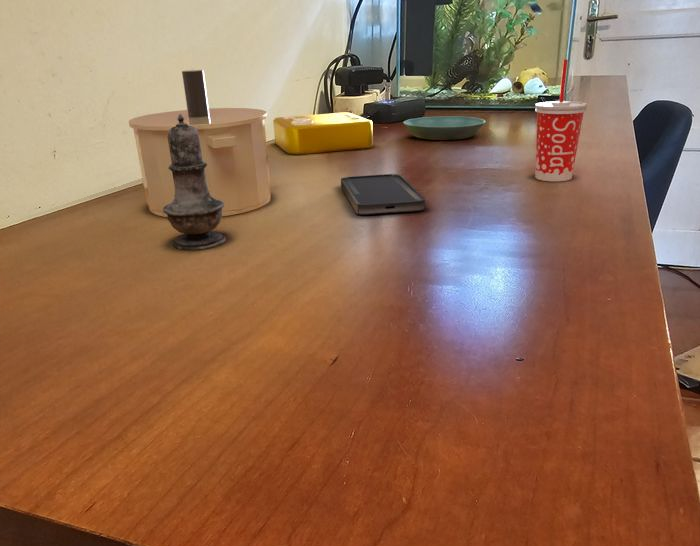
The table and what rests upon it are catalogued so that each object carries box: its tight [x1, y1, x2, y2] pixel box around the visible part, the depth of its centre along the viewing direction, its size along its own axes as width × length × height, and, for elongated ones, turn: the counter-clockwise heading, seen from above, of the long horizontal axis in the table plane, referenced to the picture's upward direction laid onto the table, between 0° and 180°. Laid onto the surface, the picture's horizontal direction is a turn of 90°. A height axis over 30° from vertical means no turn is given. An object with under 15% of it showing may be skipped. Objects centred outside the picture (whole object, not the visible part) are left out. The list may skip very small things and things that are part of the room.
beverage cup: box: [534, 59, 588, 182], centre depth 80 cm, size 6×6×14 cm
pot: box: [132, 119, 272, 218], centre depth 76 cm, size 15×20×10 cm
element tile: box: [272, 112, 374, 156], centre depth 112 cm, size 15×15×5 cm
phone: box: [340, 173, 426, 216], centre depth 76 cm, size 8×1×15 cm
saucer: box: [403, 115, 486, 141], centre depth 116 cm, size 15×15×3 cm
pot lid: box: [128, 69, 268, 131], centre depth 73 cm, size 16×16×6 cm
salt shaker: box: [163, 114, 227, 251], centre depth 61 cm, size 6×6×12 cm
